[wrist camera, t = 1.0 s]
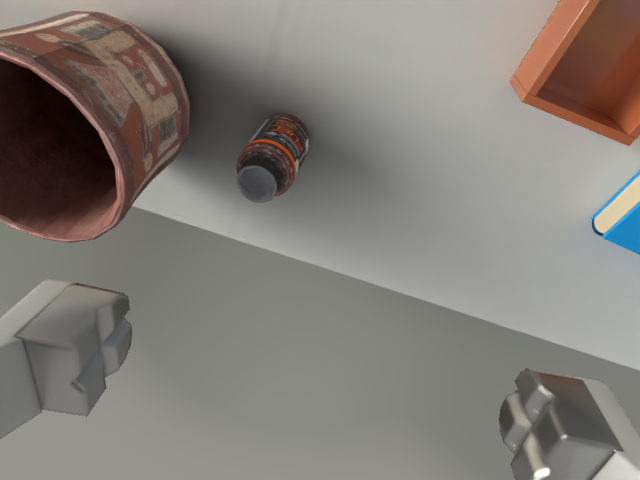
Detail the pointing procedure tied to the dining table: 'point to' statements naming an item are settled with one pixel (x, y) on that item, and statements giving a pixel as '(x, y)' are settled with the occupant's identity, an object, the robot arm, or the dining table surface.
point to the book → (621, 217)
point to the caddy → (587, 67)
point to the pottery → (83, 123)
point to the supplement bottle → (272, 158)
